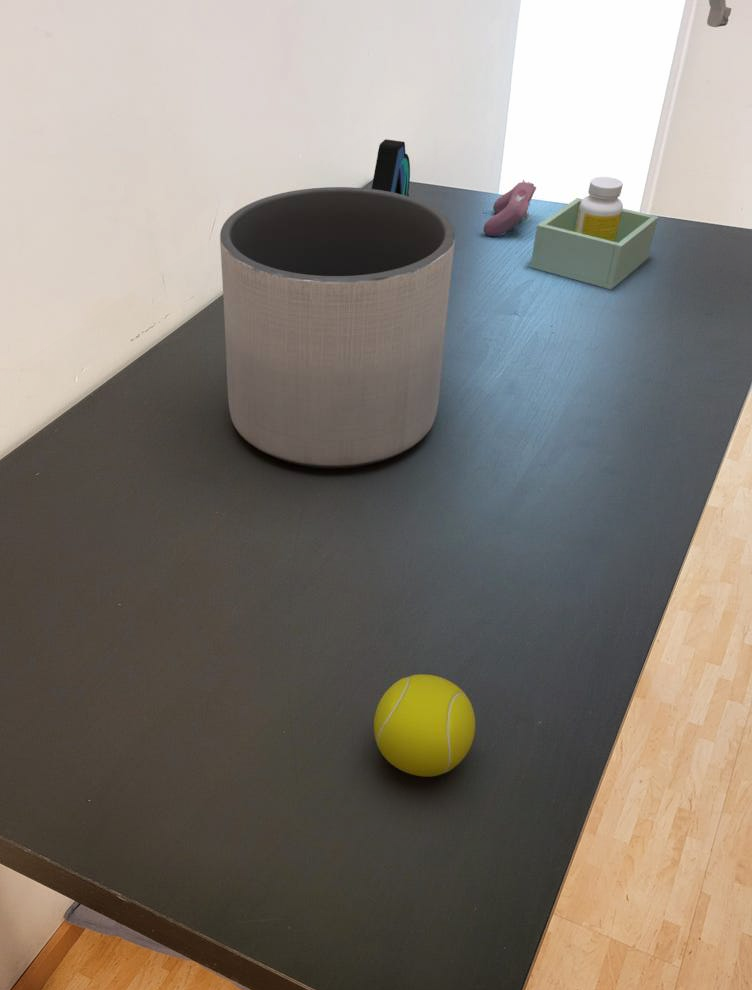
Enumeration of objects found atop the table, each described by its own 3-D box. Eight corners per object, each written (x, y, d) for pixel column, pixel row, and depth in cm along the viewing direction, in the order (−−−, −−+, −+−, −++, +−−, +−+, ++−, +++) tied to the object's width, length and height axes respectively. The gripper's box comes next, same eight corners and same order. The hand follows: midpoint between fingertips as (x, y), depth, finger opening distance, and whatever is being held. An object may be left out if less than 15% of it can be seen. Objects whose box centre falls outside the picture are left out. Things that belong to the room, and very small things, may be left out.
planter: (254, 359, 110) (246, 179, 96) (443, 374, 106) (465, 190, 92) (207, 466, 95) (190, 272, 81) (426, 488, 91) (448, 289, 77)
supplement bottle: (618, 263, 125) (637, 186, 118) (582, 269, 124) (598, 192, 117) (597, 247, 128) (614, 172, 121) (561, 253, 127) (576, 177, 120)
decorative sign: (368, 289, 122) (375, 167, 112) (351, 286, 123) (355, 165, 113) (416, 235, 134) (426, 120, 124) (400, 232, 135) (408, 118, 125)
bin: (647, 258, 127) (658, 216, 123) (611, 289, 121) (621, 246, 117) (568, 238, 132) (577, 197, 128) (529, 267, 126) (537, 225, 122)
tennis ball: (358, 776, 67) (362, 713, 62) (389, 708, 72) (396, 643, 67) (453, 808, 65) (465, 745, 60) (479, 735, 69) (492, 671, 64)
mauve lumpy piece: (506, 250, 134) (536, 207, 128) (479, 232, 133) (508, 188, 128) (516, 224, 140) (545, 182, 135) (491, 207, 140) (519, 164, 134)
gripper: (734, -122, 94) (693, 37, 104) (892, -137, 99) (838, 17, 109) (693, -129, 98) (657, 25, 108) (846, -143, 103) (799, 6, 113)
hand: (749, 21), depth 109 cm, fingers open, 8 cm apart
